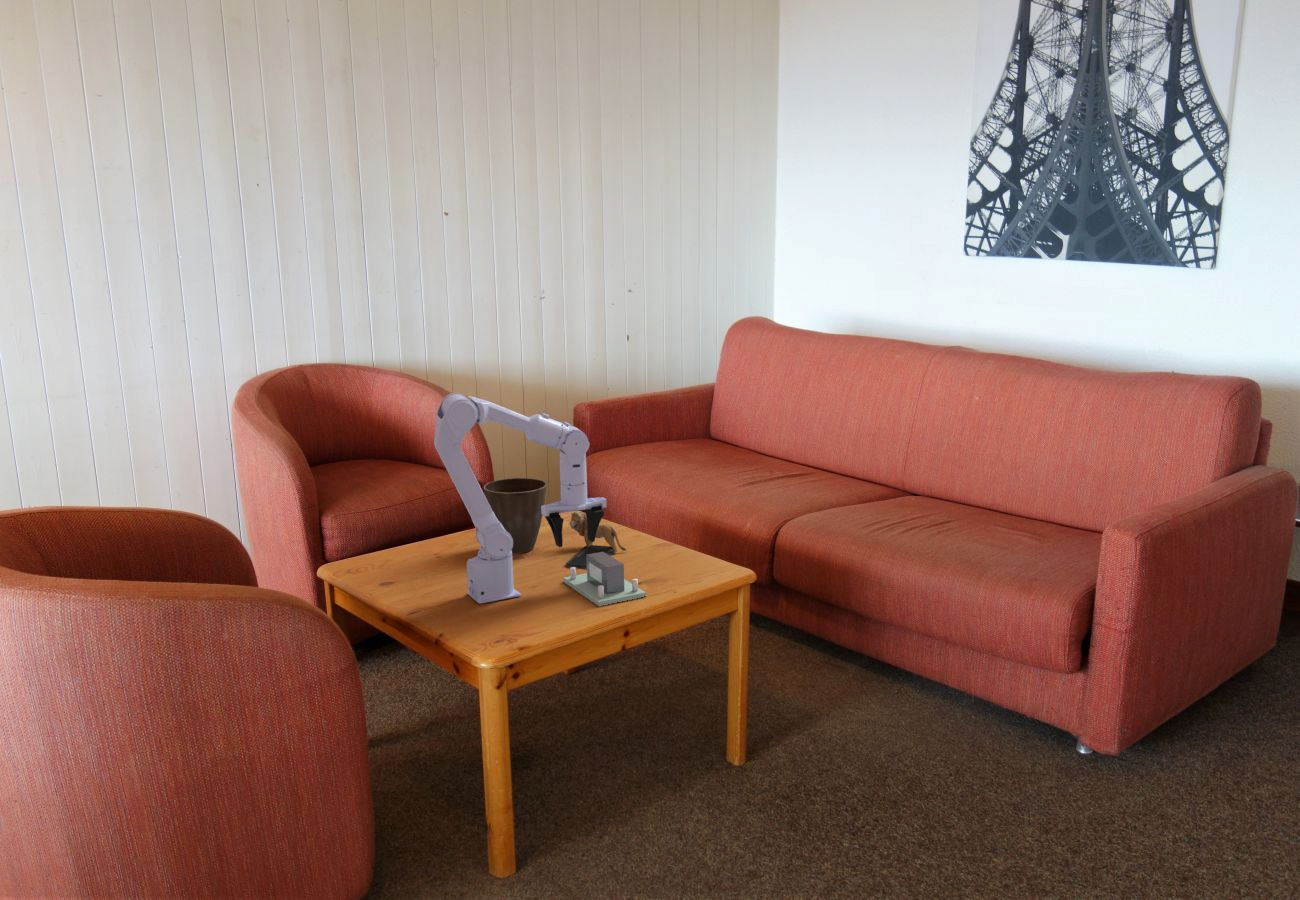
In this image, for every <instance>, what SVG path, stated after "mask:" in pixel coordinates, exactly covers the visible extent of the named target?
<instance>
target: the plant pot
mask: <svg viewBox="0 0 1300 900" xmlns="http://www.w3.org/2000/svg"><path fill="white" fill-rule="evenodd" d="M483 490H484V495H485V497H486V499H487V501H488V503H489V505H490V507H491V509H492V511H493V513H494V514H495V516H496V518H497V519H498V521H499V522H500V523H501V524H502V525H503V527H504V529H505V530H506V531H507V532H508V533H509V534H510V535H511V536H512V539H513V548H512V550H511V551H512V554H522V553H524V554H525V553H527V552H531V551H533V550H534V549H535V545H536V542H537V540H538V537H539V532H540V529H541V524H542V519H543V517H544V516H543V515H542V514H541V506H543V505H546V504H545V501H546V494H547V482H546V481H544V480H542V479H538V478H529V477H518V478H517V477H516V478H515V477H512V478H502V479H496V480H494V481H490V482H488V483H486V484H485V485H484V486H483Z"/></svg>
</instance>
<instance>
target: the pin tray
mask: <svg viewBox="0 0 1300 900" xmlns="http://www.w3.org/2000/svg"><path fill="white" fill-rule="evenodd" d="M569 570H570V571H569V573H570V575H569V576H565V577H564V576H563V578H562V579H563V583H564V584H566V585H567V586H569V587H571V589H573V590H575V591H576V592H577V593H579V594H580V595H582V596H583V597H584V598H586V599H588V600H589V602H592V603H593V602H594V604H595V606H597V607H604V606H608V604H609V605H613V604H612V603H614V604H618V603H617V602H619V603H622V601H623V602H628V601H632V599H633V600H637V598H638V599H642V598H641V597H643V598H645V597H644V596H646V597H647V592H646V591H644V590H643V589H642V588H639V581H638V578H632V579H631V582H629V580H627V579H625V578H624V591H622V592H617V593H612V594H606V593H605V592H604V586H602V585H600V586H598V588H597V587H596V586H594V585H592V584H591V583H589V582H588V581H587V572H586V573H580V574H577V571H576V570H577V568H575V567H569ZM627 600H628V601H627ZM603 605H604V606H603Z"/></svg>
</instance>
